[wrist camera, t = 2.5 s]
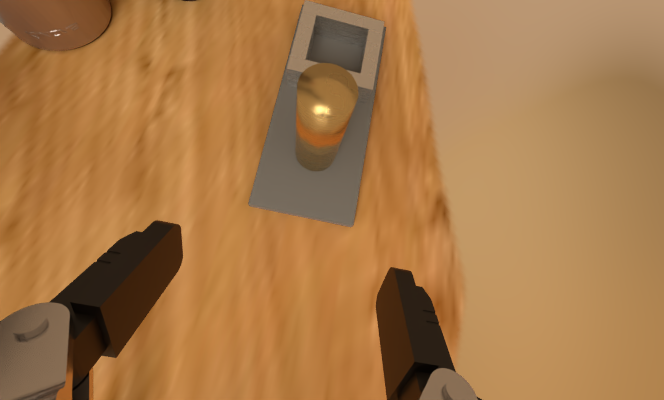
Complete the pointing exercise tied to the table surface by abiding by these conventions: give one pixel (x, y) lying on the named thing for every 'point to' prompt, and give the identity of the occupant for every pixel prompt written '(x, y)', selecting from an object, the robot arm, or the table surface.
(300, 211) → the grey base plate
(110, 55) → the table surface
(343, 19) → the collar
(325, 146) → the pin
